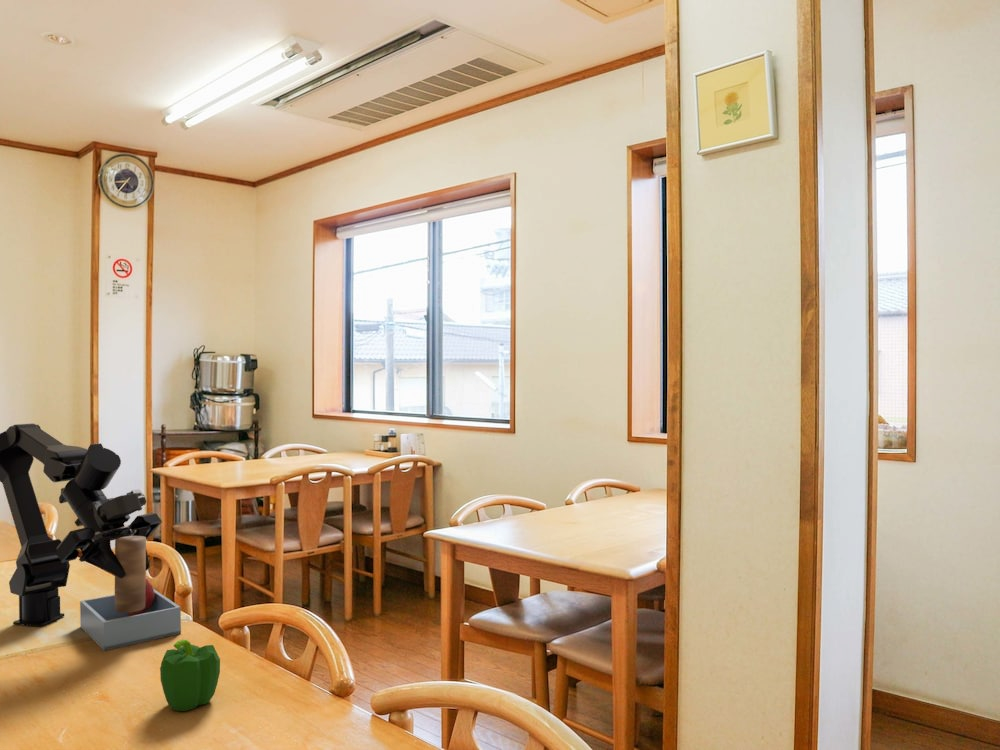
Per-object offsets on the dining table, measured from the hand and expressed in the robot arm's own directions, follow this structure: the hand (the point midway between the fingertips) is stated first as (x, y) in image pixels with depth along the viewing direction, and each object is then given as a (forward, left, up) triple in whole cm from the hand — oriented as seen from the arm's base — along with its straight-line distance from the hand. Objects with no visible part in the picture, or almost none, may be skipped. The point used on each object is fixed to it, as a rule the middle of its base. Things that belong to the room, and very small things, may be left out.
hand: (135, 572), depth 139 cm
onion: (-9, +12, -12) cm, 19 cm away
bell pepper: (+23, -21, -13) cm, 34 cm away
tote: (-7, +8, -13) cm, 17 cm away
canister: (-2, 0, -7) cm, 7 cm away
